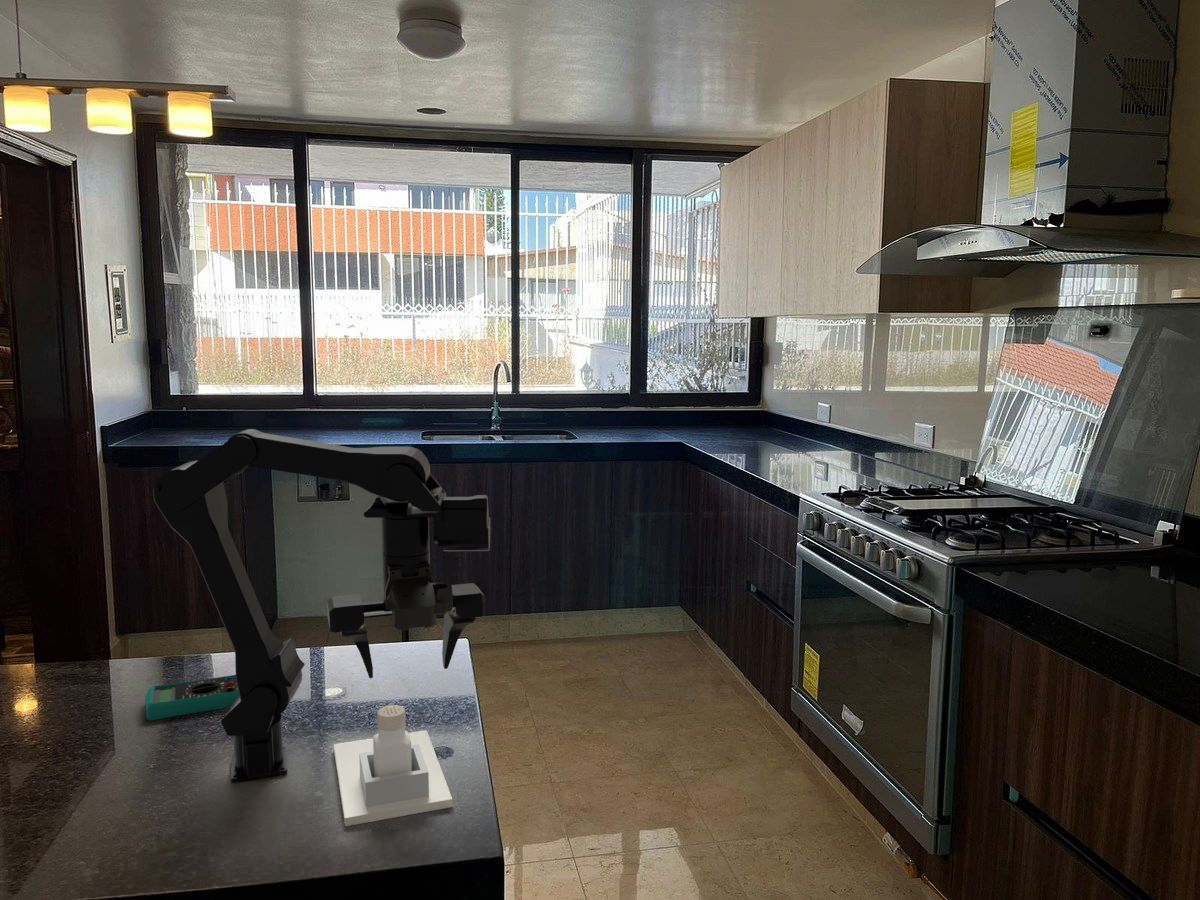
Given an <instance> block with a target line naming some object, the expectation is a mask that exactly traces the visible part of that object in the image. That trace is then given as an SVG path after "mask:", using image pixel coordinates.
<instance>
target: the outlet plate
mask: <svg viewBox="0 0 1200 900" xmlns="http://www.w3.org/2000/svg"><path fill="white" fill-rule="evenodd" d="M408 734H409V736H410V740H411V757H412V772H406V773H399V774H393V775H387V776H381V777H375V778H374V750H373V737H372V738H366V739H359V740H353V741H352V740H351V741H346V742H340V743H339V742H338V743H333V754H334V755H333V756H334V761H335V767H336V768H335V769H336V775H337V783H338V789H339V794H340V801H341V808H342V815H343V823H344V827H350V826H355V825H361V824H366V823H371V822H377V821H382V820H388V819H393V818H398V817H399V818H400V817H405V816H410V815H416V814H421V813H425V812H426V813H427V812H433V811H438V810H443V809H450V808H453V807H454V806H453V796H452V794H451V792H450V791H451V790H450V789H449V786H448V784H447V781H446V778H445V775H444V773H443V769H442V768H441V765H440V762H439V759H438V756H437V754H436V752H435V749H434V746H433V744H432V741H431V738H430V735H429V733H428V730H427V729H425V730H419V731H412V732H408Z"/></svg>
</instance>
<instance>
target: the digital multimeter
mask: <svg viewBox="0 0 1200 900" xmlns="http://www.w3.org/2000/svg"><path fill="white" fill-rule="evenodd" d="M238 697H239V692H238V687H237V683H236V674H231V675H225V676H220V677H212V678H207V679H206V678H205V679H198V680H191V681H184V682H175V683H169V684H160V685H153V686H151V687H150V688H148V689H147V692H146V695H145V716H146V720H147V721H148V722H149V721H150V722H151V721H157V720H161V719H168V718H173V717H179V716H180V717H181V716H185V714H186V715H191V714H190V713H192V714H198V713H197V712H199V713H204V712H203V711H205V712H211V711H217V709H218V710H224V709H223V708H225V709H230V707H232V705H233V704H234V703H235V701H236V700H237V699H238ZM210 710H211V711H210Z"/></svg>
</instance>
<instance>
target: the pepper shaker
mask: <svg viewBox="0 0 1200 900" xmlns="http://www.w3.org/2000/svg"><path fill="white" fill-rule="evenodd" d="M376 715H377V717H376V718H377V720H376V721H377V729H378V733H376V734H375V735H373V736H372V738H373V750H374V778H375V777H381V776H387V775H393V774H399V773H406V772H412V757H411V740H410V736H409V734H408V733H409V732H408V730H406V725H407V724H406V708H404V707H403V706H401V705H398V704H397V705H395V704H394V705H393V704H392V705H386V706H383V707H381V708H379V709H377V714H376Z"/></svg>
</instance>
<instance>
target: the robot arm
mask: <svg viewBox="0 0 1200 900" xmlns="http://www.w3.org/2000/svg"><path fill="white" fill-rule="evenodd" d="M248 467H254V468H258V469H259V468H260V469H265V470H271V471H278V472H284V473H285V472H286V473H291V474H297V475H303V476H310V477H315V478H316V477H317V478H322V479H326V480H333V481H334V480H335V481H341V482H345V483H349V484H351V485H354V486H357V487H358V488H360V489H362V490H364V491H366V492H369V493H371V494H373V495H376V497H375V499H374V501H373V503H372V504H371V505H369V506H368V507H367V509H366V510H365V511H364V512H363V517H365V518H366V519H368V518H369V519H374V518H375V519H377V518H379V519H380V523H381V524H380V525H381V528H380V529H381V561H382V562H381V563H382V566H381V567H382V568H381V569H382V570H381V571H382V600H374V601H363V600H362V597H361V595H360V593H354V594H345V595H336V596H335V595H334V596H331V597H330V598H329V599H328V600H327V602H326V615H327V616H326V617H327V622H328V628H329V632H331V633H340V636H341V637H343V638H351V639H352V641H353V643H354V645H355V646H356V648H357V650H358V651H359V654H360V657H361V659H362V661H363V664H364V667H365V670H366V673H367V675H368V678H369V679H373V678H374V674H373V673H374V665H373V660H372V656H371V655H372V654H371V650H370V649H371V648H370V644H369V643H370V642H369V636H368V635H369V634H368V629H367V627H366V624H365V623H366V622H365V619H371V618H381V617H389V616H392V620H393V625H394V628H395V629H396V630H398V631H409V630H410V629H416V628H425V629H429V628H433V627H434V626H436V624H437V615H443V632H442V634H443V635H442V649H441V650H442V653H441V655H442V665H443V669H445V670H446V669H448V668H449V666H450V664H451V660H452V657H453V654H454V651H455V648H456V646H457V642H458V640H459V639H460V638H459V637H461V634H462V632H463V630H464V629H465V628H466V627H467V626H468V625H469V624H475V622H476V620H477V618H481V617H484V616H487V600H486V596H485V595H484V593H483V592H482V590H481V589H480V588H479V587H478V585H476V584H475V583H474V582H472V583H471V582H469V583H460V584H458V583H457V584H452V582H451V581H443V582H434V580H433V578H432V576H431V575H432V574H431V556H430V555H431V549H430V547H431V546H430V545H431V544H430V518H433V524H432V525H433V529H432V530H433V531H432V533H433V543H434V544H437V547H438V548H442V551H443V552H490V548H491V517H489V515H490V514H489V496H488V495H487V494H478V495H472V496H447V493H446V491H445V489H443V487H442V486H441V485H440V483H439V482H438V481H437V480H436V478H435V477H434V476H433V475H432V474H431V465H430V462H429V459H428V458H427V456H426V455H425V453H423V451H422V450H420V449H419V448H415V447H414V446H376V447H375V446H373V447H350V446H344V445H338V444H330V443H328V442H327V443H326V442H320V441H315V440H314V441H313V440H309V439H302V438H295V437H291V436H286V435H285V436H283V435H277V434H273V433H271V434H270V433H267V432H266V433H265V432H262V431H261V430H258V429H256V428H255V429H253V428H249V429H245V430H241V431H240V432H237V433H235V434H233V435H231V436H230V437H229V438H228V439H227V441H226V442H225V443H223V444H221V445H220V446H218V447H217V448H215V449H214V450H213V451H211V452H209V453H208V454H206V455H204V456H203V457H202V458H200V459H199V460H193V461H192V460H191V461H188V462H186V463H183V464H182V465H179V466H177V467H175V468H173V469H170V470H168V471H166V472H164V473H163V474H162V475H161V476H159V477H158V479H157V480H156V482H155V484H154V486H153V488H152V497H153V502H154V503H155V505H156V507H157V509H158V510H159V511H160V513H161V515H162V516H163V518H164V519H165V521H166V522H167V523H168V525H169V526H170V528H171V529H172V530H174V531H175V533H176V534H178V535H179V537H181V538H182V539H183V540H184V541H185V542H186V543H187V544H188V546H189V547H190V548H191V551H192V553H193V556H194V558H195V560H196V563H197V565H198V567H199V569H200V572H201V575H202V577H203V579H204V581H205V584H206V586H207V588H208V591H209V593H210V596H211V598H212V600H213V603H214V605H215V607H216V609H217V612H218V614H219V617H220V619H221V622H222V624H223V626H224V628H225V632H226V633H227V636H228V638H229V641H230V644H231V645H232V648H233V651H234V654H235V655H234V659H235V660H234V662H235V664H234V665H235V675H236V683H237V687H238V692H239V697H238V699H237V700H236V701H235V703H234V704H233V705H232V707H231V708H228V711H227V712H226V713H225V714H224V716H223V718H221V721H220V722H221V725H222V727H223V730H224V731H225V734H226V736H228V737H233V739H232V740H233V754H232V756H231V765H230V782H233V783H235V782H241V781H247V780H253V779H254V780H255V779H260V778H268V777H274V776H278V775H284V774H287V773H288V753H287V751H288V750H287V747H286V746H284V740H283V737H284V735H283V719H282V718H283V717H282V713H284V711H285V710H287V708H288V706H289V704H290V703H291V701H292V699H293V698H294V696H295V694H296V693H297V691H298V689H299V688H300V685H301V684H302V681H303V672H302V671H303V668H304V667H305V665H306V664H305V662H304V661H303V660H302V659H301V658H300V657H299V655H298V652H297V648H296V642H295V640H294V638H292V637H291V638H289V639H287V640H285V641H281V640H280V638H278V636H276V635H274V633H273V631H272V630H271V628H270V626H269V623H268V621H267V619H266V617H265V614H264V612H263V609H262V606H261V604H260V602H259V599H258V597H257V595H256V592H255V589H254V588H253V585H252V583H251V581H250V578H249V575H248V573H247V570H246V568H245V566H244V564H243V563H244V562H243V561H242V558H241V556H240V554H239V552H238V549H237V547H236V543H235V542H234V539H233V537H232V535H231V532H230V529H229V520H228V519H229V516H228V515H229V514H228V513H229V512H228V508H229V507H228V498H227V494H226V488H225V484H226V483H227V482H229V481H230V480H231V479H233V478H235V477H236V476H237V475H239V474H240V473H242V472H243V471H244V470H245V469H247V468H248Z"/></svg>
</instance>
